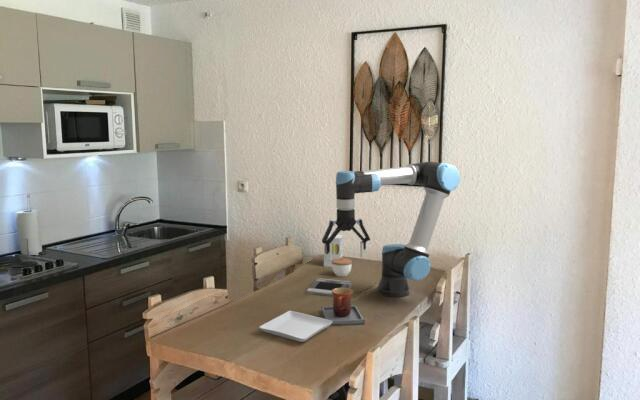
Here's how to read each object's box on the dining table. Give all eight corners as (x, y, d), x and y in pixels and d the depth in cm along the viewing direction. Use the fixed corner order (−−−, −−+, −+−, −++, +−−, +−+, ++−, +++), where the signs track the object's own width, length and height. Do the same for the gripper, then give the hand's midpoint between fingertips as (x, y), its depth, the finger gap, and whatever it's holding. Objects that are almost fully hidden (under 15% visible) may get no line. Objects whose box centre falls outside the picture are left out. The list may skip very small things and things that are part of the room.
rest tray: (355, 309, 236) (356, 305, 236) (364, 324, 219) (364, 319, 219) (321, 310, 234) (321, 306, 234) (327, 325, 217) (327, 321, 217)
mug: (333, 310, 233) (333, 286, 232) (353, 311, 231) (354, 288, 230) (328, 320, 222) (328, 295, 220) (349, 322, 220) (349, 297, 218)
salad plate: (304, 347, 198) (304, 338, 197) (257, 334, 209) (257, 326, 208) (333, 328, 215) (334, 320, 215) (289, 317, 226) (289, 309, 226)
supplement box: (323, 266, 303) (323, 236, 301) (325, 262, 312) (326, 233, 310) (340, 267, 302) (340, 237, 299) (342, 263, 311) (342, 234, 308)
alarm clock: (351, 281, 266) (341, 288, 251) (350, 291, 267) (341, 298, 251) (317, 278, 272) (306, 284, 256) (317, 287, 272) (306, 294, 257)
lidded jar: (327, 273, 290) (328, 256, 289) (345, 271, 295) (346, 254, 293) (336, 278, 281) (337, 261, 279) (355, 276, 285) (355, 259, 284)
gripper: (372, 205, 232) (372, 253, 236) (314, 208, 228) (315, 257, 232) (377, 208, 225) (377, 258, 228) (317, 211, 221) (318, 262, 224)
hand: (346, 258), depth 230 cm, fingers open, 13 cm apart
